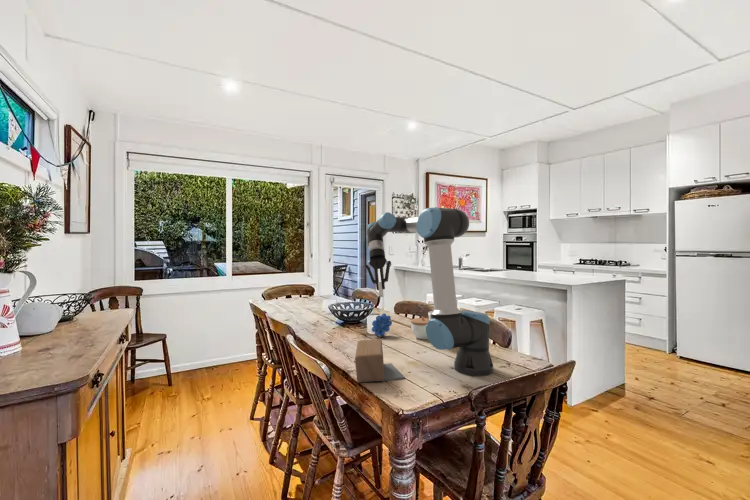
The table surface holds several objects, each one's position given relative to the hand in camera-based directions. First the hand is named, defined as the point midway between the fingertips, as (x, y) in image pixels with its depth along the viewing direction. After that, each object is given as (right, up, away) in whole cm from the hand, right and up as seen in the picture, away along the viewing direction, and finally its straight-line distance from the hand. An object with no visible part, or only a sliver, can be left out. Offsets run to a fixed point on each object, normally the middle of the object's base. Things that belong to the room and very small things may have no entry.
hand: (381, 295), depth 170 cm
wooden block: (-5, -21, -17) cm, 27 cm away
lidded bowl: (+22, -25, +26) cm, 43 cm away
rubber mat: (+1, -27, -26) cm, 37 cm away
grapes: (0, -25, +30) cm, 39 cm away
